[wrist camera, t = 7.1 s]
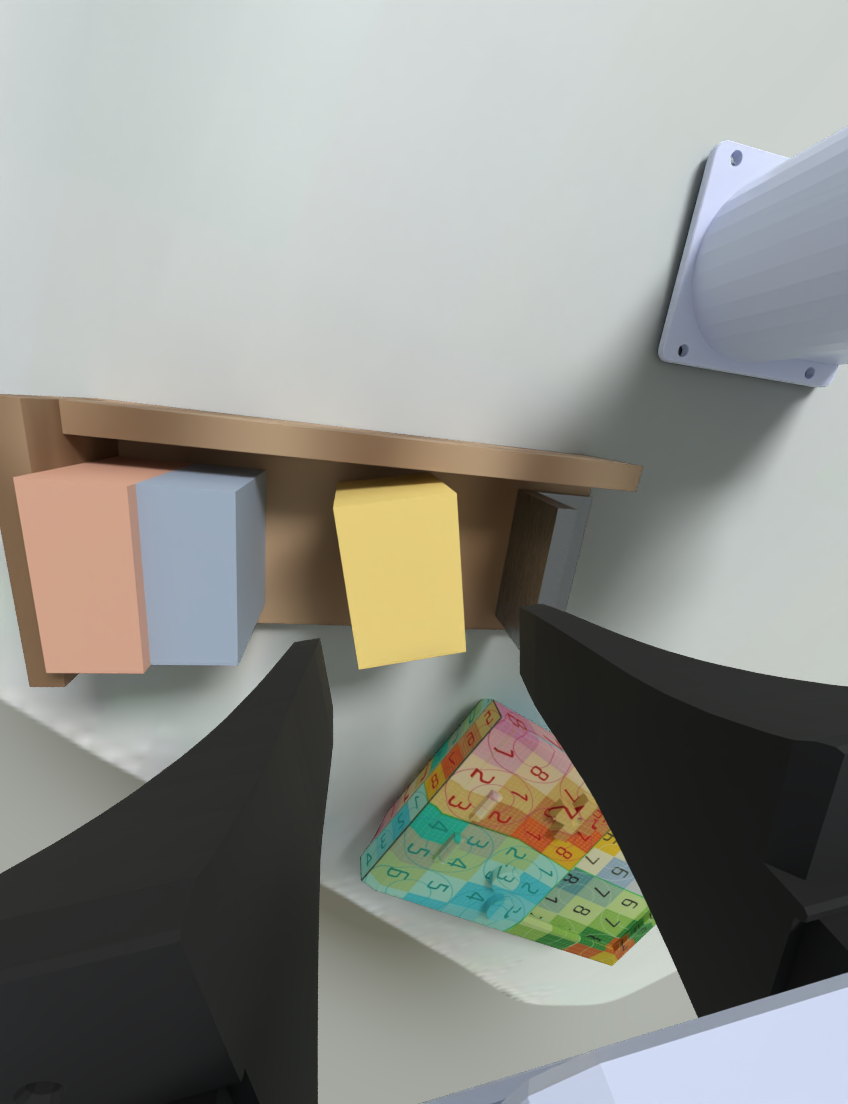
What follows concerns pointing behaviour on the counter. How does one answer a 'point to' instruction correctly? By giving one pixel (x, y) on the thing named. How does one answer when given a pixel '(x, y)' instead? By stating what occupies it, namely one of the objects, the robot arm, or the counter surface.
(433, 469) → the shelf tray
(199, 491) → the row books
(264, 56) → the counter surface
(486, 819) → the puzzle game
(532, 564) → the bookend
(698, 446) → the counter surface
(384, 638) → the pale yellow upright block
